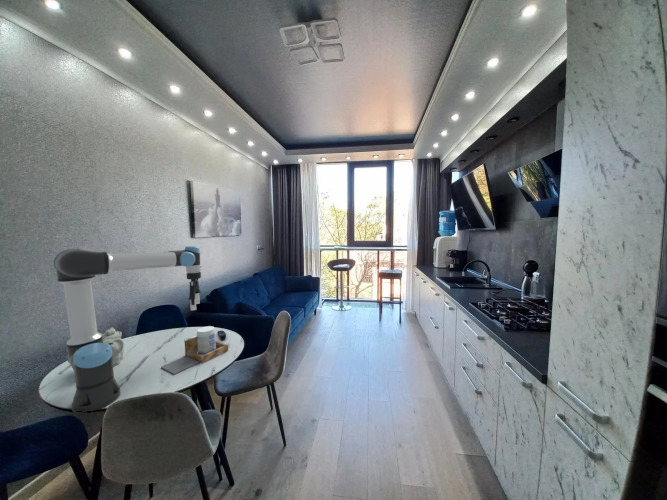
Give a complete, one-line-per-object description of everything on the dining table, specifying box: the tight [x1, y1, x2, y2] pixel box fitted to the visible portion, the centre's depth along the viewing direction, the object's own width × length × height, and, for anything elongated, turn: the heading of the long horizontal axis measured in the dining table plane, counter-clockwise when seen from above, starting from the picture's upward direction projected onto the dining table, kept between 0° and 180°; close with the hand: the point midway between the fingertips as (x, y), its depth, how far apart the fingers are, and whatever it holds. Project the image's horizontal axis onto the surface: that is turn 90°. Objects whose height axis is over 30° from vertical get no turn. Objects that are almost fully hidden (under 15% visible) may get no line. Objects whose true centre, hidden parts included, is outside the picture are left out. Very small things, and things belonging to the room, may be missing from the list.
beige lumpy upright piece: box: [101, 327, 125, 367], centre depth 137 cm, size 16×15×19 cm
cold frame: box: [183, 334, 229, 364], centre depth 148 cm, size 16×17×10 cm
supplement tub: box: [196, 325, 217, 355], centre depth 148 cm, size 10×10×15 cm
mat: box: [160, 356, 200, 376], centre depth 135 cm, size 13×13×1 cm
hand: (195, 306), depth 152 cm, fingers open, 13 cm apart
